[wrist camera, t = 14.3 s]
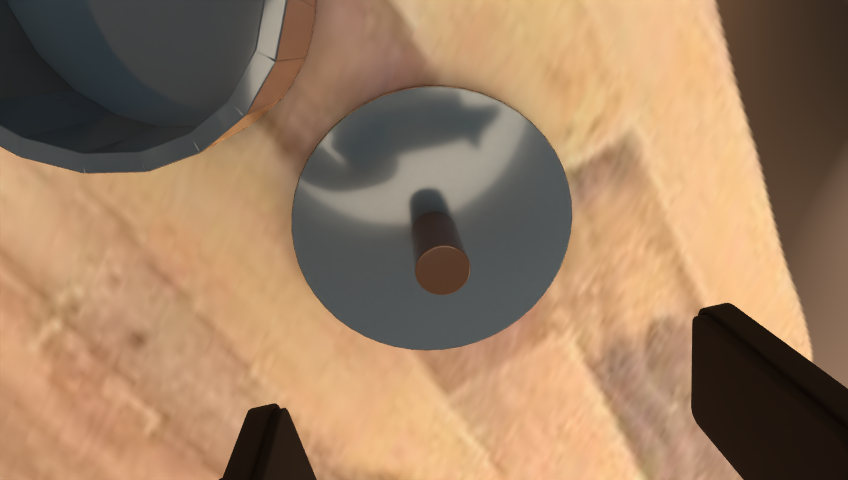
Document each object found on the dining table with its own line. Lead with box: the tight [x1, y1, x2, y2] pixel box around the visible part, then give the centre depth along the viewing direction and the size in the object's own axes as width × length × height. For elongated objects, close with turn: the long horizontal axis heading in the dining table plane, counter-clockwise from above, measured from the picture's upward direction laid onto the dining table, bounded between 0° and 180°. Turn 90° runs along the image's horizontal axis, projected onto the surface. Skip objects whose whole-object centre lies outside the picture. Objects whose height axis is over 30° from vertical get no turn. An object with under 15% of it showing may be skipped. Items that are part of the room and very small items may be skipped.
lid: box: [292, 85, 572, 350], centre depth 25 cm, size 16×16×6 cm
